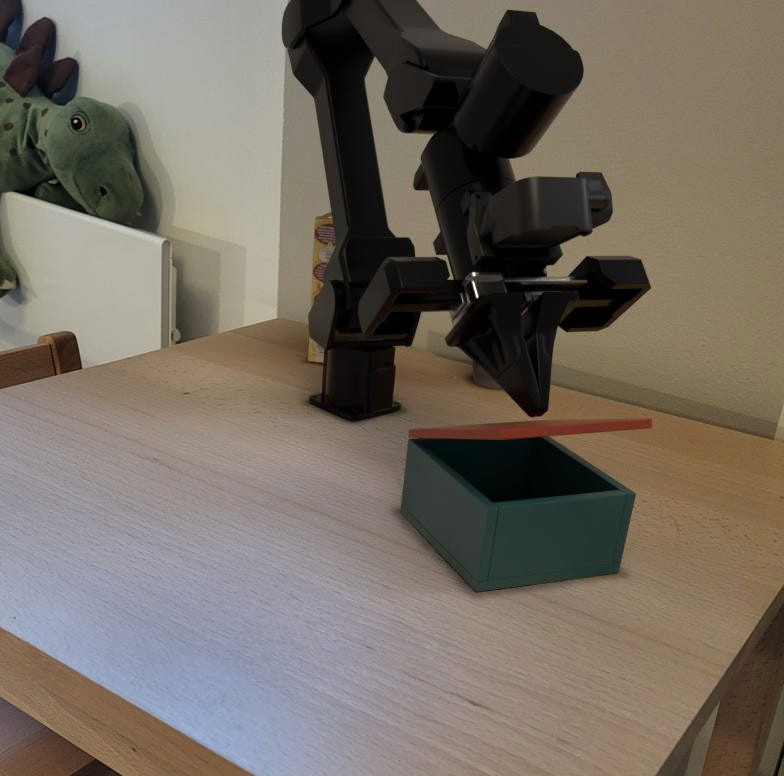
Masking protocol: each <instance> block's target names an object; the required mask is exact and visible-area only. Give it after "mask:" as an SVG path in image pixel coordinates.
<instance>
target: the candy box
mask: <svg viewBox="0 0 784 776" xmlns="http://www.w3.org/2000/svg"><path fill="white" fill-rule="evenodd" d="M313 228H314V230H313V248H312V249H313V250H312V272H311V293H310V309H311V308H312V306H313V304H314V302H315V300H316V298H317V296H318V294H319V292H320V291H321V289H322V287H323V273H324V271H325V269H326V266H327V264H328V262H329V260H330V257H331V255H332V253H333V251H334V249H335V246H336V240H335V233H334V227H333V220H332V213H331V211H330V212H328V213H325V214H323V215H320V216H319V215H318V216H315V217H314V227H313ZM307 354H308V355H307V361H308V362H312V363H317V364H318V363H319V364H323V359H324V349H323V348H322V347H321V346H320V345H318V344H317V343H316V342H315V341H314V340H312V339H311V338H310V337H309V336H308V353H307Z"/></svg>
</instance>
